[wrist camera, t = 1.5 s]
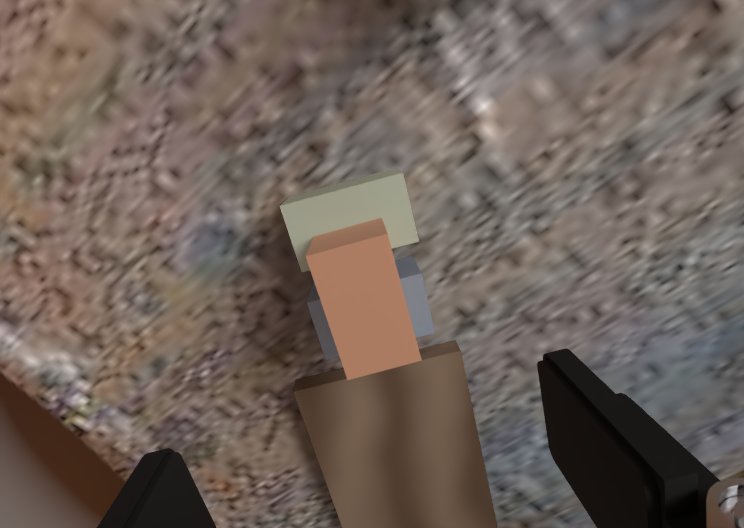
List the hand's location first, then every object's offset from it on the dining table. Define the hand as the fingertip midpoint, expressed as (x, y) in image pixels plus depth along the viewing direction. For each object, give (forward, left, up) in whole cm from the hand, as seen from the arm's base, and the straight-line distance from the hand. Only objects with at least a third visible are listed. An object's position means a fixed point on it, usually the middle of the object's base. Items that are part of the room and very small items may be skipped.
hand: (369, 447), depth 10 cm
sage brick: (0, -3, -18) cm, 18 cm away
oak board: (+1, +18, -18) cm, 25 cm away
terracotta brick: (0, +1, -14) cm, 14 cm away
